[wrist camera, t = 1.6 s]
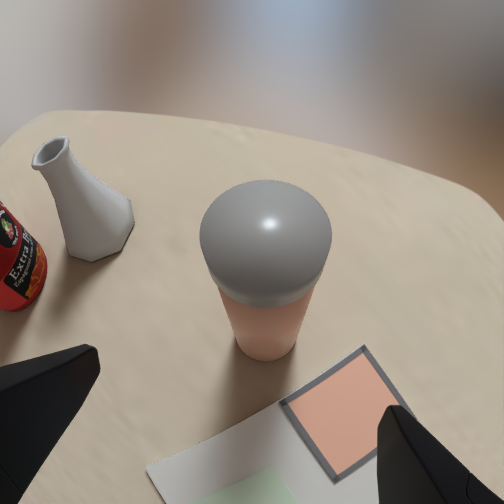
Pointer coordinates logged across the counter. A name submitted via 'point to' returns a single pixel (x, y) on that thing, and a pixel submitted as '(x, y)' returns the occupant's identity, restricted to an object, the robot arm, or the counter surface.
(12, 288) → the canned food
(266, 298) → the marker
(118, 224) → the flask
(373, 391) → the grey sorting board
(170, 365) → the counter surface
